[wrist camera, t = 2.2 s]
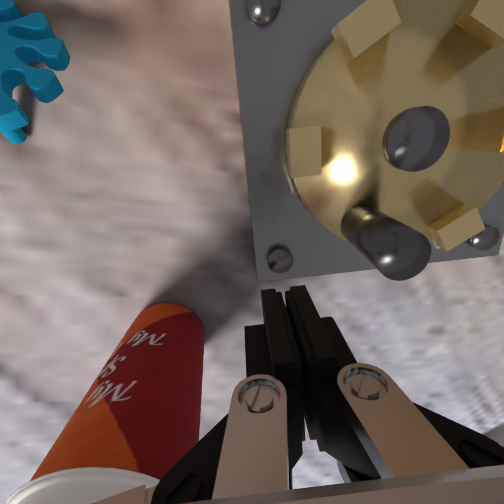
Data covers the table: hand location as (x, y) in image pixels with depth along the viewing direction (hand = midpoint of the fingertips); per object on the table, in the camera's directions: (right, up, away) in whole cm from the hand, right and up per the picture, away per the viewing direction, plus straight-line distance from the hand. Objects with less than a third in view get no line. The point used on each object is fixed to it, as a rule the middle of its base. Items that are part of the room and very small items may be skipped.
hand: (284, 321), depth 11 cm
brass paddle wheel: (+7, +10, +7) cm, 14 cm away
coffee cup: (-8, -4, +14) cm, 17 cm away
